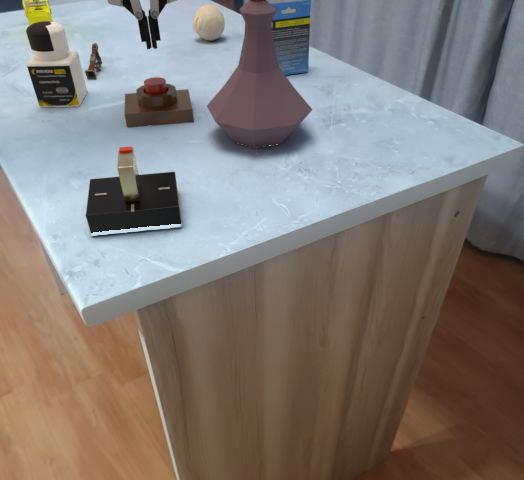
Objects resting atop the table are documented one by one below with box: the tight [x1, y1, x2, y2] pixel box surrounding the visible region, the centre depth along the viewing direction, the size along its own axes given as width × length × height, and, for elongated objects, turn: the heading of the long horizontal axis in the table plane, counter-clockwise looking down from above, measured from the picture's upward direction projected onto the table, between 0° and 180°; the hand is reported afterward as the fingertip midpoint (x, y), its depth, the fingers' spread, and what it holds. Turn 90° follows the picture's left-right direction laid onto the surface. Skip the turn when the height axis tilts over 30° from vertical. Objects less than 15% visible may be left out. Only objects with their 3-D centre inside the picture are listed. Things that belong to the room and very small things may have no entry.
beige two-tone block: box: [116, 146, 140, 203], centre depth 63 cm, size 5×2×5 cm, turn 9°
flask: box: [206, 0, 313, 149], centre depth 75 cm, size 16×16×20 cm
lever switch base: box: [85, 171, 182, 234], centre depth 65 cm, size 11×9×3 cm
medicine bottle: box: [25, 20, 88, 109], centre depth 89 cm, size 7×7×12 cm
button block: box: [124, 83, 195, 128], centre depth 87 cm, size 11×9×4 cm
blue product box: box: [270, 0, 312, 76], centre depth 98 cm, size 9×4×12 cm, turn 110°
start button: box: [143, 76, 167, 95], centre depth 85 cm, size 4×4×2 cm
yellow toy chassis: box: [21, 0, 53, 27], centre depth 119 cm, size 16×6×8 cm, turn 19°
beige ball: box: [191, 4, 226, 41], centre depth 115 cm, size 7×7×7 cm
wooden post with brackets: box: [84, 42, 103, 80], centre depth 102 cm, size 2×8×4 cm, turn 179°
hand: (152, 46), depth 81 cm, fingers closed
